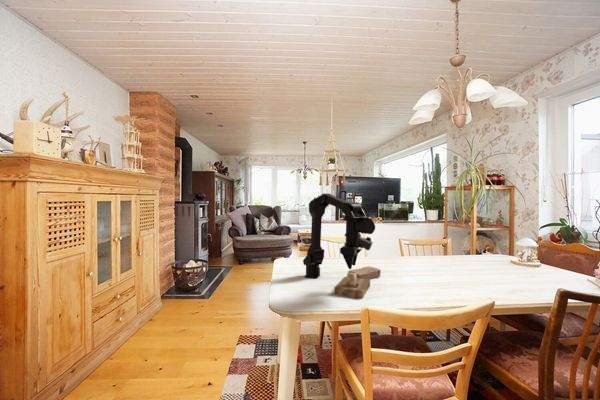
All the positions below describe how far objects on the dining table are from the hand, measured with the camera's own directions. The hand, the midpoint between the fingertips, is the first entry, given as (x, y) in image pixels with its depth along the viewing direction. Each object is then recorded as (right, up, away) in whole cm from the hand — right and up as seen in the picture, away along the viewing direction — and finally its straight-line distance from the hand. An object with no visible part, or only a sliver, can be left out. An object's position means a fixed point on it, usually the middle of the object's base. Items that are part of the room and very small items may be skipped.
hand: (351, 267), depth 125 cm
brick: (+11, -11, +23) cm, 27 cm away
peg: (0, -11, 0) cm, 11 cm away
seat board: (+1, -11, +3) cm, 11 cm away
